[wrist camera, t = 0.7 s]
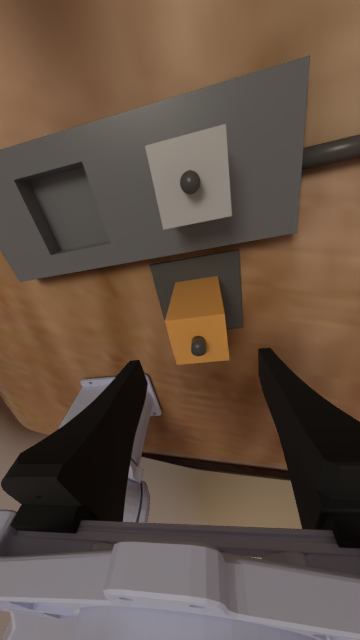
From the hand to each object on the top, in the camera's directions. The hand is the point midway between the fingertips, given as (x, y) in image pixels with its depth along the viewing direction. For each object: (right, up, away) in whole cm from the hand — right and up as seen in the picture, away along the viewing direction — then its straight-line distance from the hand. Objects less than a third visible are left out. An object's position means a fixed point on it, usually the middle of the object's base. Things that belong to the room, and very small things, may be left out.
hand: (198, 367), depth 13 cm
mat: (+1, +5, +8) cm, 10 cm away
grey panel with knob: (-1, +13, +4) cm, 14 cm away
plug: (+1, +5, +8) cm, 10 cm away
